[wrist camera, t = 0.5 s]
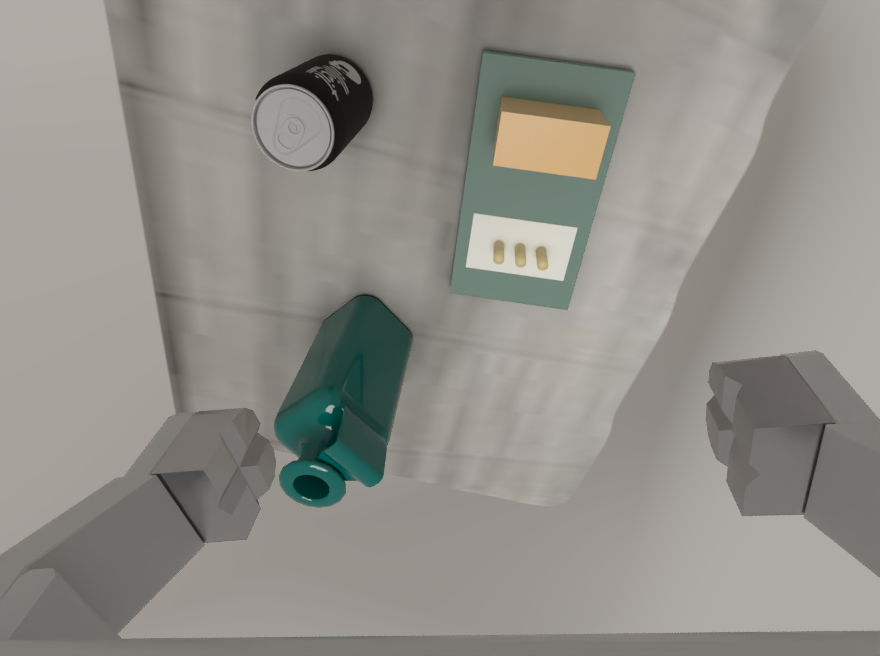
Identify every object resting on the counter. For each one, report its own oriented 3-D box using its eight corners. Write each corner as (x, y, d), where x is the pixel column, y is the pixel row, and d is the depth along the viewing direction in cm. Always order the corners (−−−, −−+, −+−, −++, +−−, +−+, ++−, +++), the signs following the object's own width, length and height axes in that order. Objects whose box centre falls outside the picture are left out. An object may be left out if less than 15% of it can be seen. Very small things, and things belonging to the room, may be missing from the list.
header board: (483, 49, 44) (481, 57, 40) (631, 69, 43) (644, 79, 40) (450, 285, 56) (447, 309, 52) (566, 302, 56) (570, 326, 52)
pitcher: (367, 374, 64) (313, 538, 45) (314, 326, 60) (234, 481, 42) (429, 333, 60) (398, 495, 41) (376, 279, 56) (317, 428, 38)
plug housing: (501, 96, 44) (501, 111, 39) (599, 109, 44) (610, 126, 39) (493, 145, 46) (492, 165, 42) (586, 158, 46) (595, 179, 42)
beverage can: (389, 90, 46) (358, 124, 36) (347, 149, 49) (308, 196, 39) (325, 34, 44) (273, 54, 34) (285, 100, 47) (228, 135, 37)
